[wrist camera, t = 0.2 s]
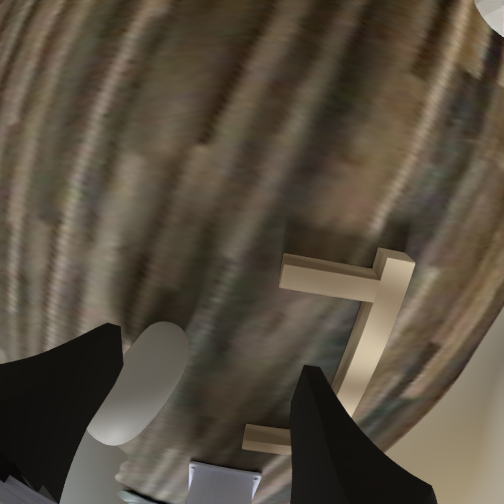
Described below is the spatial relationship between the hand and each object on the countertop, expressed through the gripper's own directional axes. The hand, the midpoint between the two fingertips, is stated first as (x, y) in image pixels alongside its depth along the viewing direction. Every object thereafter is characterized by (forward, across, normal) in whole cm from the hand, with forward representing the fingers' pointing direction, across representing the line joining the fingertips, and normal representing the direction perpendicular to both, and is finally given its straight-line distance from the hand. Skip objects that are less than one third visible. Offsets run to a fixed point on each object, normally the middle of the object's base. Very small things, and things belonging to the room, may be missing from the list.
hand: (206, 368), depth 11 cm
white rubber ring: (+10, +5, +7) cm, 14 cm away
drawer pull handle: (+10, -7, +7) cm, 14 cm away
